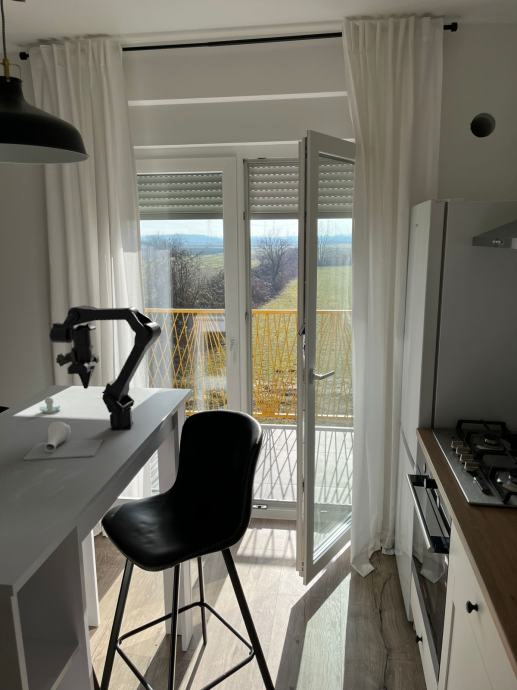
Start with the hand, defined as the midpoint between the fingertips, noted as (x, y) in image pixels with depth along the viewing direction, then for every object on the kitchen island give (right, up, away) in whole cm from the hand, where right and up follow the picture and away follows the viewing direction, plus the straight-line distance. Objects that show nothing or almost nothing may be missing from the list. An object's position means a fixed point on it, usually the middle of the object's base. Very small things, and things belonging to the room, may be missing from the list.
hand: (86, 388), depth 182 cm
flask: (-4, -12, -14) cm, 19 cm away
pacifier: (-19, -11, +18) cm, 29 cm away
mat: (0, -17, -20) cm, 26 cm away
